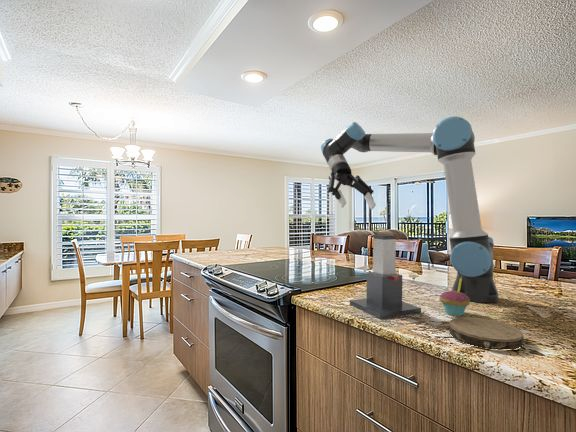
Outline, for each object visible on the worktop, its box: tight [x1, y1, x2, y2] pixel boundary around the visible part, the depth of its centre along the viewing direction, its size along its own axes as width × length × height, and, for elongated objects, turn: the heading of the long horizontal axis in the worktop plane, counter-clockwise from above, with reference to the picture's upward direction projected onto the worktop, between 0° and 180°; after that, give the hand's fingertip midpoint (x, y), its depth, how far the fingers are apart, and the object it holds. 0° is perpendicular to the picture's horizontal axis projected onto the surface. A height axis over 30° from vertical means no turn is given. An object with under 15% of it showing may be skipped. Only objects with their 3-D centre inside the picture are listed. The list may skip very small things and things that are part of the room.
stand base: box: [349, 271, 422, 320], centre depth 106 cm, size 16×16×12 cm
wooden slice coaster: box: [449, 316, 524, 349], centre depth 81 cm, size 16×16×3 cm
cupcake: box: [438, 276, 471, 317], centre depth 100 cm, size 9×8×12 cm
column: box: [372, 234, 397, 276], centre depth 106 cm, size 5×5×22 cm
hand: (359, 206), depth 120 cm, fingers open, 13 cm apart
